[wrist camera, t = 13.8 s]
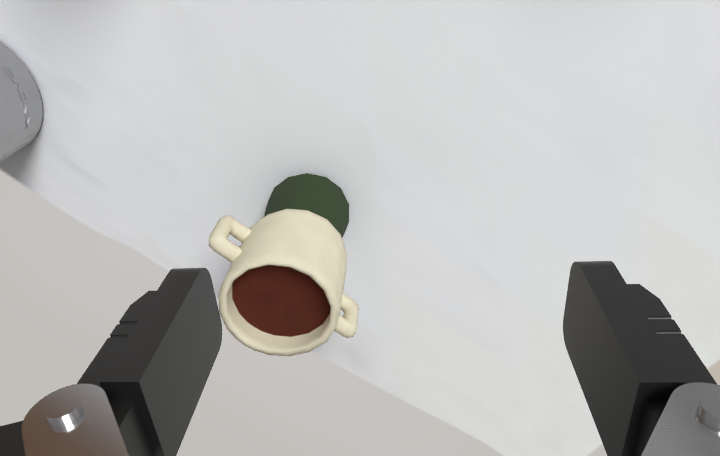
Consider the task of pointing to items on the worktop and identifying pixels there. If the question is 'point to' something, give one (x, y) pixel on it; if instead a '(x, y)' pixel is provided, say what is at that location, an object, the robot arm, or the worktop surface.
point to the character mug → (288, 270)
